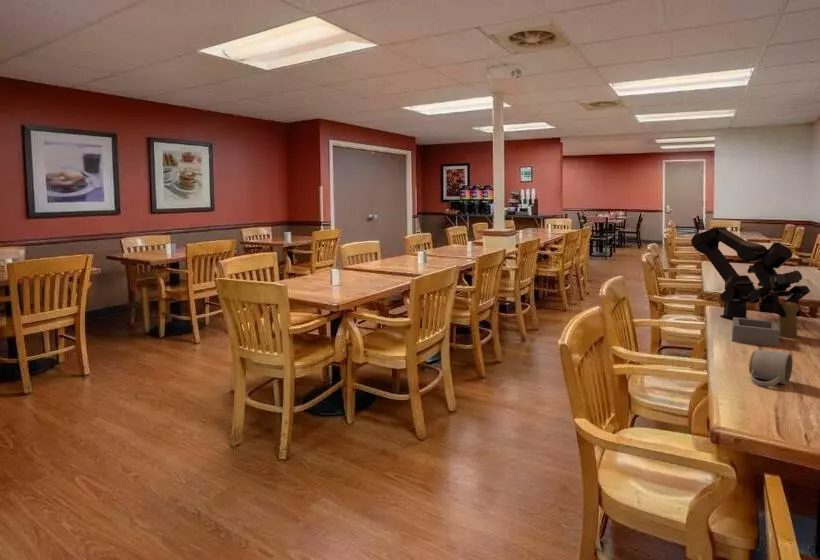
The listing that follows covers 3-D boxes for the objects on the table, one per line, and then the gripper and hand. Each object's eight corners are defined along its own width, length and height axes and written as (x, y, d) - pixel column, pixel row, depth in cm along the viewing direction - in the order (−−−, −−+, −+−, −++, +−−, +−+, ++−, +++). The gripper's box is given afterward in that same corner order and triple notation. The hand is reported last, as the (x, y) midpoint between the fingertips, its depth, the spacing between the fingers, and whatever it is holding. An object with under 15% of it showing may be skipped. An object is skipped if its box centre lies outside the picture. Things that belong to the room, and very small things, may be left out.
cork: (790, 332, 177) (794, 300, 175) (801, 338, 171) (805, 304, 169) (770, 332, 177) (774, 299, 175) (781, 337, 172) (785, 304, 170)
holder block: (731, 331, 179) (733, 317, 178) (775, 336, 173) (776, 321, 172) (732, 341, 169) (733, 325, 168) (778, 346, 163) (779, 330, 162)
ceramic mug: (754, 372, 142) (757, 344, 140) (791, 380, 136) (795, 351, 135) (742, 383, 135) (745, 354, 133) (780, 392, 129) (784, 361, 127)
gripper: (758, 263, 172) (783, 304, 164) (808, 261, 175) (836, 301, 167) (737, 282, 181) (760, 322, 173) (785, 280, 184) (810, 319, 176)
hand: (791, 316), depth 172 cm, fingers closed on cork, 5 cm apart
